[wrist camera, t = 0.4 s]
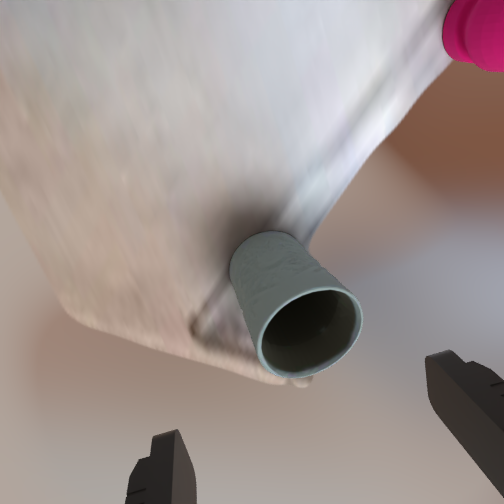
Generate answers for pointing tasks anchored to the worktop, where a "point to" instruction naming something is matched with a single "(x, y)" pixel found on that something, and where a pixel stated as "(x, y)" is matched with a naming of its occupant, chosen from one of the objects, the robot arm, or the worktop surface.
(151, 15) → the worktop surface
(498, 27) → the pepper mill
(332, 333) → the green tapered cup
